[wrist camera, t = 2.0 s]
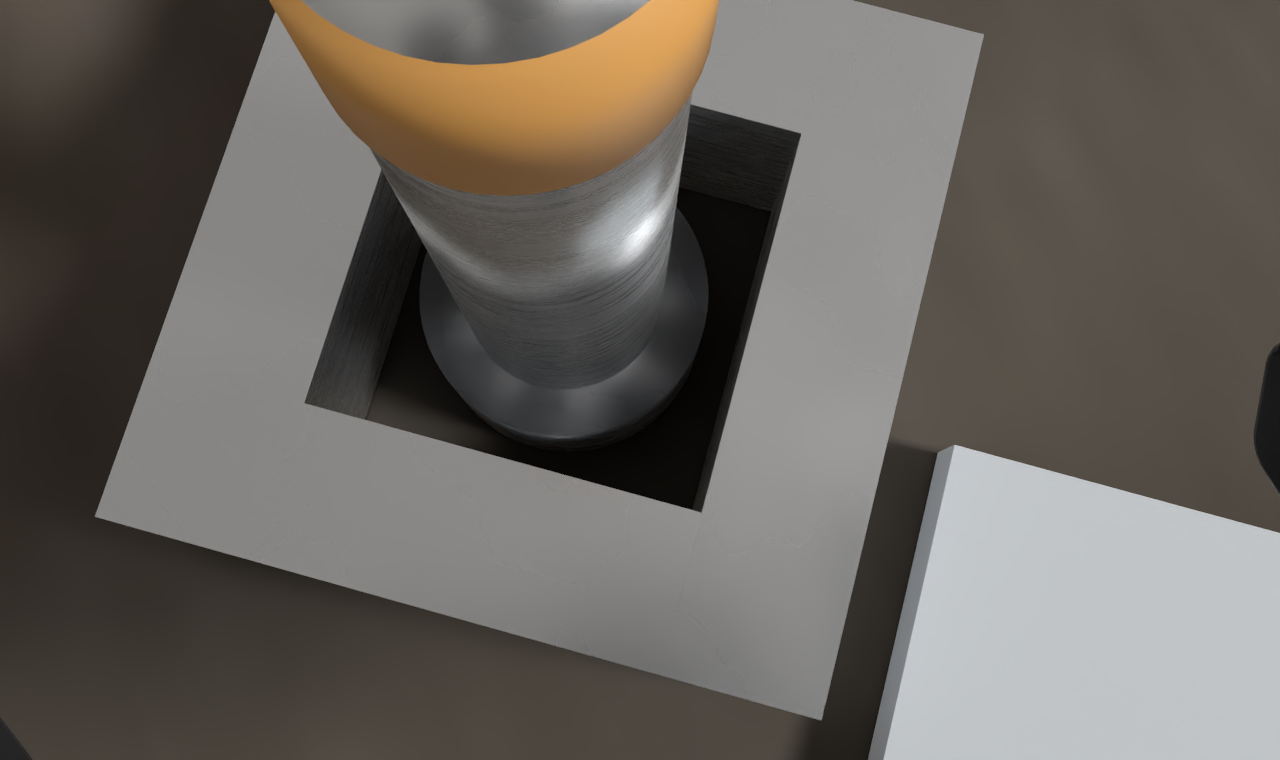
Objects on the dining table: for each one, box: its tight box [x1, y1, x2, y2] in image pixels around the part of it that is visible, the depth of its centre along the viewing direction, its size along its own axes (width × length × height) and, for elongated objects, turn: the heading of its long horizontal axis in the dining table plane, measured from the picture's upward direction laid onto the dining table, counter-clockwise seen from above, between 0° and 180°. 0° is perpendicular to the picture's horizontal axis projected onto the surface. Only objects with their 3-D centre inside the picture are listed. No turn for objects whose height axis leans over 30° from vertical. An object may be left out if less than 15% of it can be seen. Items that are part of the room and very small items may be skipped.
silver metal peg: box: [269, 0, 719, 452], centre depth 14 cm, size 4×4×13 cm
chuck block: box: [95, 0, 984, 720], centre depth 18 cm, size 10×10×4 cm
